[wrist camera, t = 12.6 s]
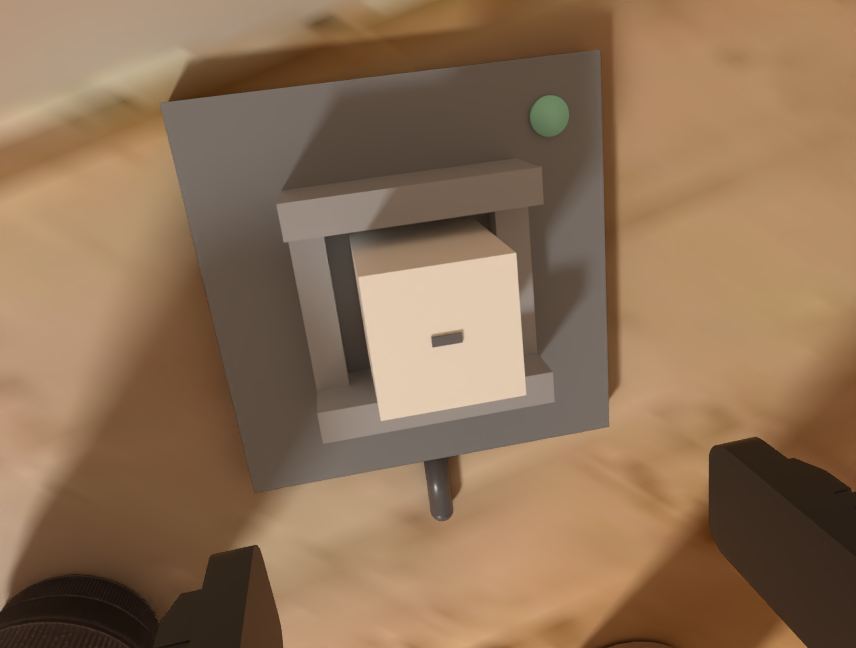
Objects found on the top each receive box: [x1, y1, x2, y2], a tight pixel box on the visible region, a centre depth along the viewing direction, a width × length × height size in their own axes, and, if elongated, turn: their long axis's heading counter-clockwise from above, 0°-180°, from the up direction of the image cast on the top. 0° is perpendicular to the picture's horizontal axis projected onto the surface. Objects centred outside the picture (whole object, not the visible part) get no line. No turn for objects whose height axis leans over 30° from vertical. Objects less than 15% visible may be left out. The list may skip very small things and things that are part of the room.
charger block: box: [349, 216, 526, 421], centre depth 22 cm, size 4×4×6 cm
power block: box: [160, 49, 609, 521], centre depth 25 cm, size 18×15×4 cm
